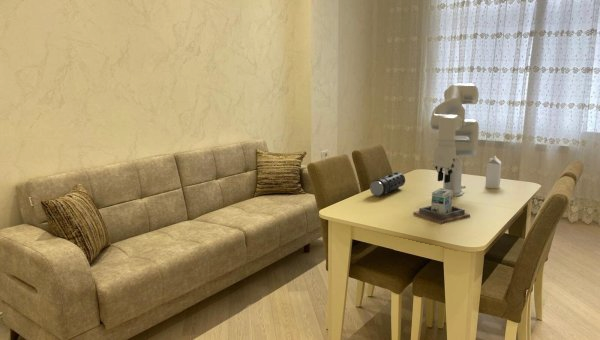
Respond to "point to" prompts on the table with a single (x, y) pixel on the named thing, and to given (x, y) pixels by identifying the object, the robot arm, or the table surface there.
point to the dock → (442, 215)
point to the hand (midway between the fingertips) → (443, 181)
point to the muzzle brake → (387, 184)
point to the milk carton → (493, 173)
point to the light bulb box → (442, 201)
